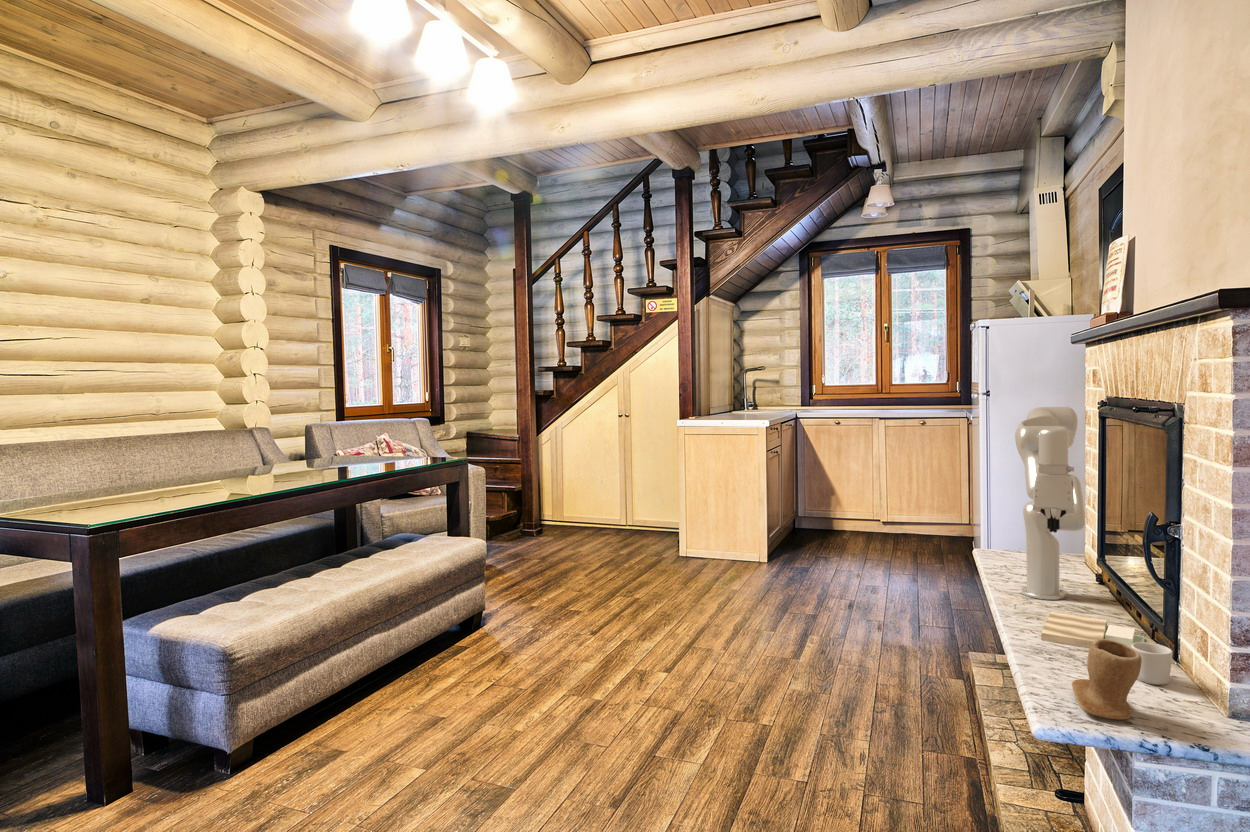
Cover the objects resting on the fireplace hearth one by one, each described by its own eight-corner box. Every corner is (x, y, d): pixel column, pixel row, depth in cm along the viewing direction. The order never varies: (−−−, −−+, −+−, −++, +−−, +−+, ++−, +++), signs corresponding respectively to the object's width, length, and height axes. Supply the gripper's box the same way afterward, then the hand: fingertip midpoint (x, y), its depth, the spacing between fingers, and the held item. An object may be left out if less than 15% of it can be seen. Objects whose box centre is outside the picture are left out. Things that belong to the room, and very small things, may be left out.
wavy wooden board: (1051, 618, 215) (1051, 611, 215) (1106, 626, 206) (1106, 619, 206) (1041, 639, 197) (1041, 632, 197) (1101, 650, 189) (1101, 642, 189)
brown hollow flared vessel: (1146, 729, 147) (1146, 657, 146) (1078, 718, 152) (1078, 649, 151) (1133, 699, 160) (1133, 633, 159) (1070, 690, 165) (1070, 627, 165)
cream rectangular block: (1108, 631, 201) (1109, 624, 201) (1135, 635, 197) (1135, 628, 197) (1105, 642, 193) (1105, 634, 193) (1132, 646, 189) (1132, 639, 189)
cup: (1137, 668, 177) (1137, 636, 177) (1177, 676, 171) (1177, 644, 171) (1127, 681, 169) (1127, 648, 169) (1169, 691, 164) (1169, 656, 163)
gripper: (1084, 469, 208) (1084, 531, 209) (1026, 467, 217) (1026, 526, 218) (1082, 472, 202) (1082, 536, 203) (1022, 470, 211) (1022, 531, 212)
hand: (1053, 531), depth 211 cm, fingers closed
